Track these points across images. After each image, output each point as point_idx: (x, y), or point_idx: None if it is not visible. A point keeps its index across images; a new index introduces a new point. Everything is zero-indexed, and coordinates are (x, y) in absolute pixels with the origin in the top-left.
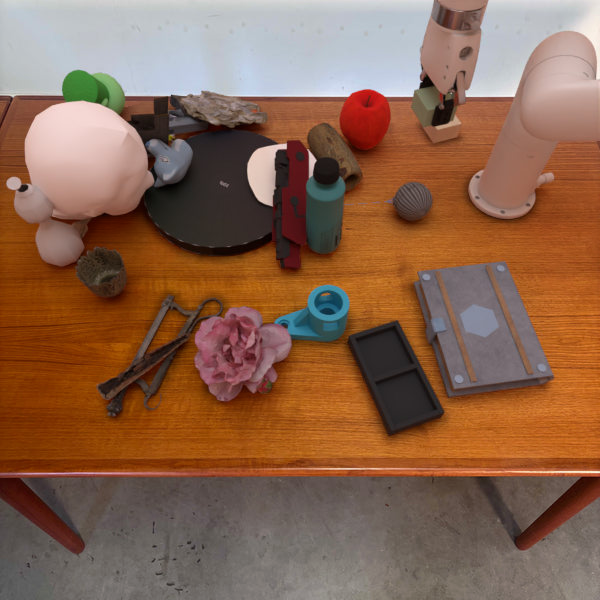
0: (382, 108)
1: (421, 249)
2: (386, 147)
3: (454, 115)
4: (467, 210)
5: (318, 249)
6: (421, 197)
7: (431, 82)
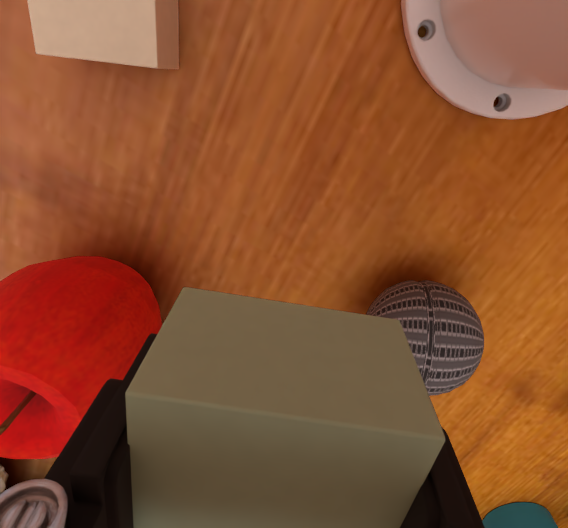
0: (78, 390)
1: (511, 333)
2: (148, 230)
3: (411, 353)
4: (499, 149)
5: None
6: (469, 370)
7: (107, 519)
